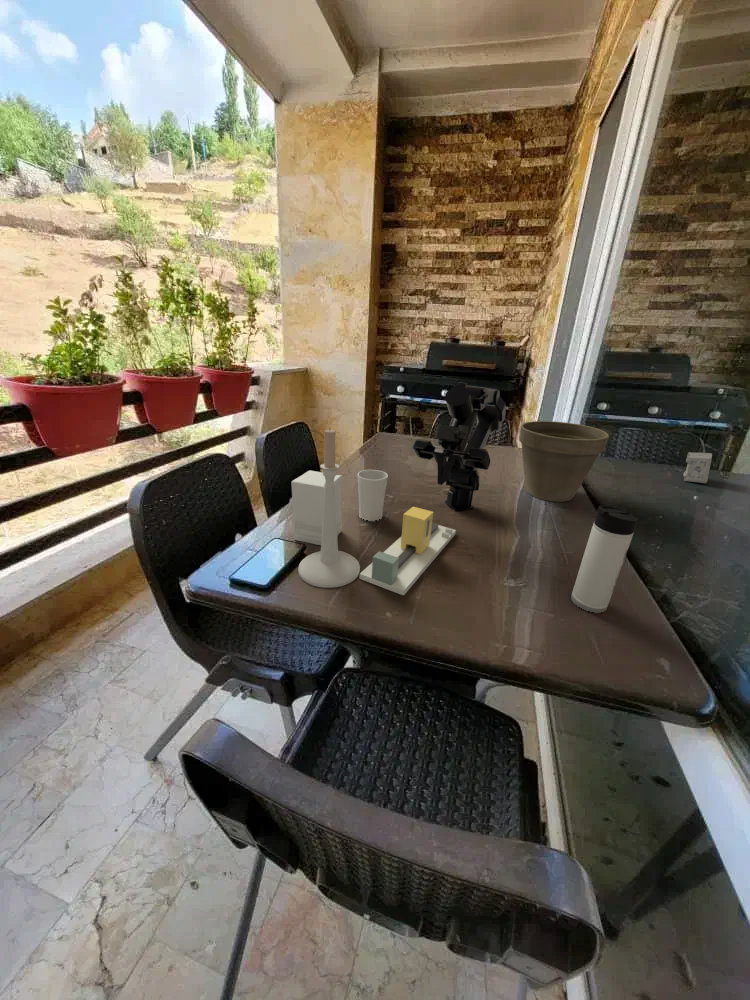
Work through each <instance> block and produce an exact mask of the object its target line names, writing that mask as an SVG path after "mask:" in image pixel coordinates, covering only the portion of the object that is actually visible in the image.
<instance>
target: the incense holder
mask: <svg viewBox="0 0 750 1000" xmlns="http://www.w3.org/2000/svg"><path fill="white" fill-rule="evenodd" d="M712 457H713V453H712V452H711V453H710V452H691V451H689V452H687V455H686V459H685V463H687V464H686V470H685V471H684V472H683V473H682V474H683V481H684V482H691V483H701V484H707V482H708V478H709V472H710V469H711V463H712V459H713V458H712Z"/></svg>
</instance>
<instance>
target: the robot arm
mask: <svg viewBox="0 0 750 1000" xmlns="http://www.w3.org/2000/svg"><path fill="white" fill-rule="evenodd" d="M444 400H445V403H446V406H447V409H448V413H449V416H451V420H450V423H449V425H442V424H437V427H436V432H435V435H434V436H435V437H434V439H435V440H438V441H437V442H438V445H439V446H438V445H435V446H434V445H433V444H432V441H431V440H427V439H423V438H422V439H421V438H419V439H416V440H415V441H414V442H413V445H412V449H413V450H414V452H415V454H416V455H417V457H418V458H419V459H423V460H429V461H430V460H432V459H434V460H435V462H436V464H437V481H436V482H437V485H438V486H443V484H444V483H445V485H446V486H449V490H448V491H447V497H446V500H444V503H445V504H446V505H447V506H449V507H450V508H452V510H454V511H465V510H473V509H475V506H474V505H473V504H472V503H473V496H474V492H476V491H479V490H480V485H481V484H480V483H481V482H480V481H481V479H480V475H479V469H480V470H483V471H484V470H489V468H490V464H491V458H490V455H489V451H488V450H487V449H486V448H485V446H486V443H487V441H488V440H489V437H490V434H491V433H492V432H494V431H496V430H498V429H499V428H500V426H501V424H502V423H503V422H504V420H505V419H506V415H507V414H506V413H507V412H506V411H507V410H506V409H507V407H506V405H507V403H506V402H505V401H504V400H503V398H502V397H501V395H500V390H498V389H497V388H490V387H483V386H476V385H468V383H467V382H459V381H458V383H457V385H456V386H452V387H451V388H450V389H448V390H447V392H446V393H445V396H444ZM475 424H476V427H475V428H474V426H475ZM473 428H474V431H473ZM472 431H473V432H472ZM471 433H472V435H471Z"/></svg>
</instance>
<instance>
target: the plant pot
mask: <svg viewBox="0 0 750 1000" xmlns="http://www.w3.org/2000/svg"><path fill="white" fill-rule="evenodd" d="M518 437H519V438H518V441H519V443H521V452H522V453H521V454H522V467H523V476H524V485H525V490H526V492H527V493H528V494H529V495H531V496H532V497H534V498H537V499H540V500H544V501H548V502H556V503H559V502H561V503H563V502H568V501H571V500H573V498H574V497H575V495H576V493H578V491H579V489H580V487H581V485H582V484H583V483H584V481H585V479H586V478H587V476H588V473H590V470H592V469H591V468H592V467H593V465H594V464H595V462H596V460H597V459H598V457H599V455H600V454H603V453H604V451H605V449H606V446H607V444H608V440H609V437H610V435H609V434H608V433H607V432H606V431H604V430H601V429H599V428H596V427H593V426H588V425H583V424H579V423H572V422H564V421H553V420H552V421H549V420H538V421H537V420H533V421H526V422H524V423H521V425H520V427H519V435H518Z"/></svg>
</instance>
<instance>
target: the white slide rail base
mask: <svg viewBox="0 0 750 1000" xmlns="http://www.w3.org/2000/svg"><path fill="white" fill-rule="evenodd" d="M456 533H457V530H456V529H454V528H450V527H447V526H443V525H440V524H439V523H435V522H432V528H431V536H430V545H429V546H428V547H427V548H426V549H425V550H424V552H423V553H422V554H418V553H415V552H416V547H415V546H412V545H409V546H408V547H407V548H406V549H402V548H401V537H402V535H401V536H400V537H399V538H398V539H397V540H395V541H394V542H393V543H391V545H390V546H389V547H387V548H386V549H385V550H384V551H383V552H382V551H380V550H379V551H377V552H376V553H375V554H374V555H373V556H372V562H371V563H370V564H369V565H367V566H366V568H364V569H363V570H362V571H361V572H360V573H359V580H362V581H364V582H367V583H369V584H372V585H376V586H378V587H381V588H383V589H385V590H387V591H390V592H393V593H396V594H399V595H401V596H405V595H406V593H408V591H409V590H410V589H411V588H412V586H413V585H414V584H415V583H416V582H417V580H418V579H420V577H421V575H423V573H424V572H425V571H426V569H428V567H429V566H431V564H432V563H433V562H434V560H435V559H436V558H437V557H438V555H439V554H440V553H441V552H442V550H444V548H445V547H446V546H447V545H448V544H449V542H450V541H451V540H452V539H453V538H454V537H455V535H456Z"/></svg>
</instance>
